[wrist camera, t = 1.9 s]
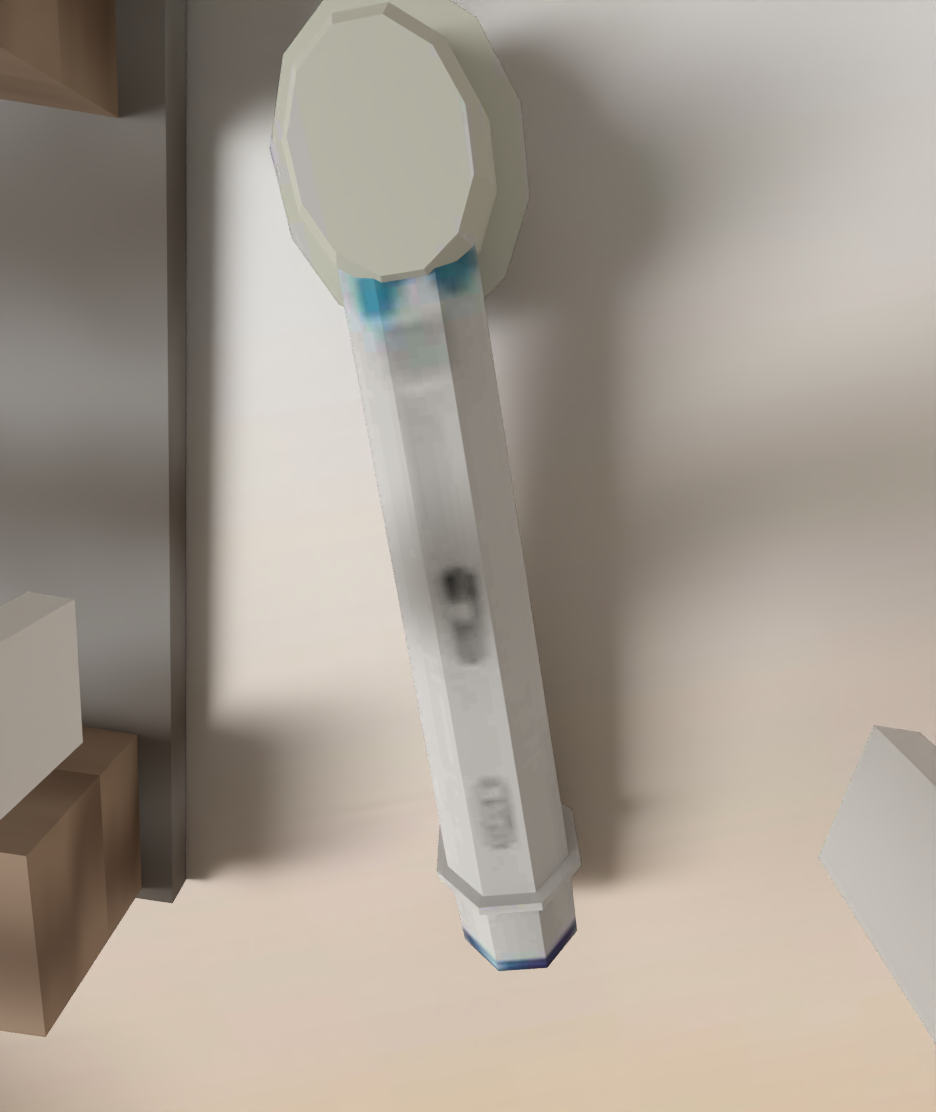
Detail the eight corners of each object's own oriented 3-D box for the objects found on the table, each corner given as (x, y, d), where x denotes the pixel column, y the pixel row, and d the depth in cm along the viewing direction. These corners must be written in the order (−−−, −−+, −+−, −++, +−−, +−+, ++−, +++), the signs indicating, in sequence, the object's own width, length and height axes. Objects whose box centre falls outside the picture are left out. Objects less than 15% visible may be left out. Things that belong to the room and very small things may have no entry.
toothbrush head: (439, 986, 19) (129, -98, 8) (448, 811, 25) (276, 46, 14) (609, 974, 19) (520, -183, 8) (578, 799, 25) (503, 2, 14)
